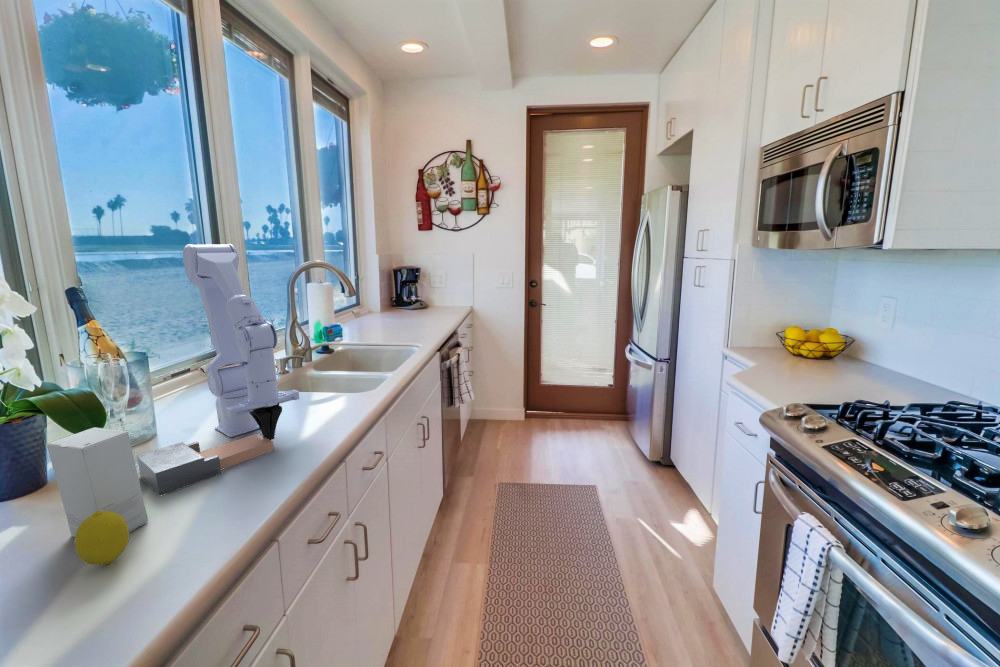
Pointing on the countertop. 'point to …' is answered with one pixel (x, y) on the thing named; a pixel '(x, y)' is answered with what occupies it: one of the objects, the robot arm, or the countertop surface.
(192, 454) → the low gray notched block
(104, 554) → the lemon
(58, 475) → the skincare box
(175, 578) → the countertop surface
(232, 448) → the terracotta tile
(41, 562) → the countertop surface
